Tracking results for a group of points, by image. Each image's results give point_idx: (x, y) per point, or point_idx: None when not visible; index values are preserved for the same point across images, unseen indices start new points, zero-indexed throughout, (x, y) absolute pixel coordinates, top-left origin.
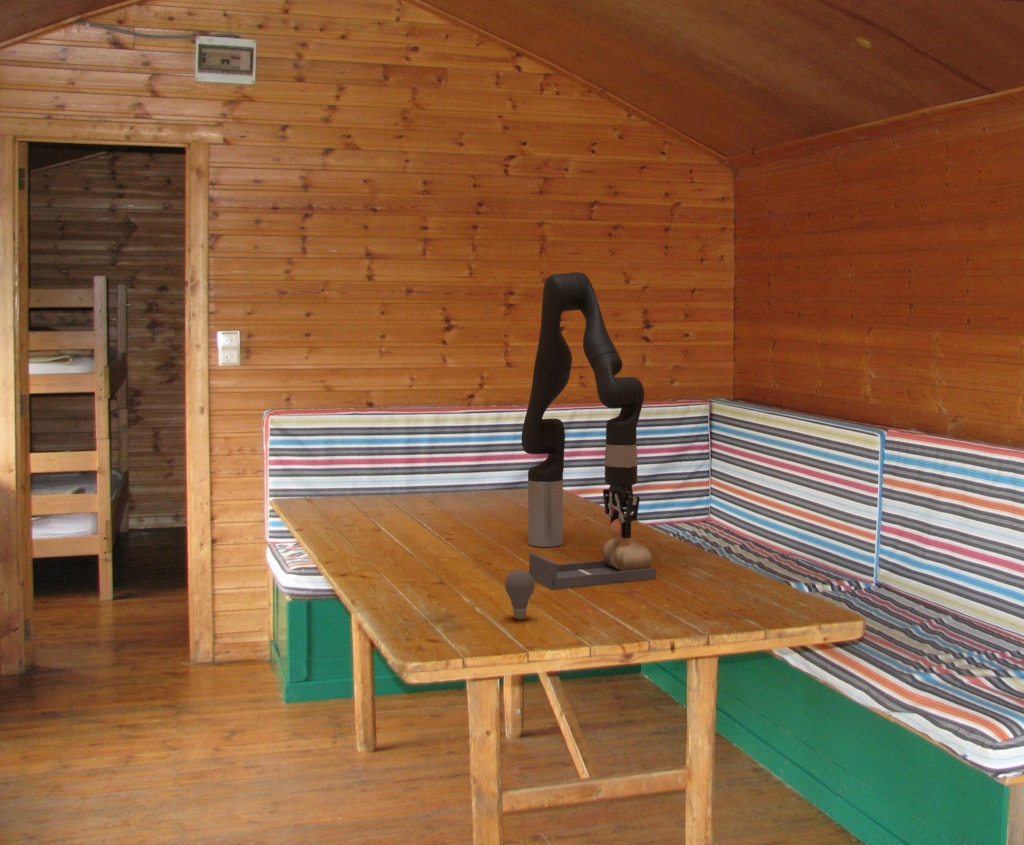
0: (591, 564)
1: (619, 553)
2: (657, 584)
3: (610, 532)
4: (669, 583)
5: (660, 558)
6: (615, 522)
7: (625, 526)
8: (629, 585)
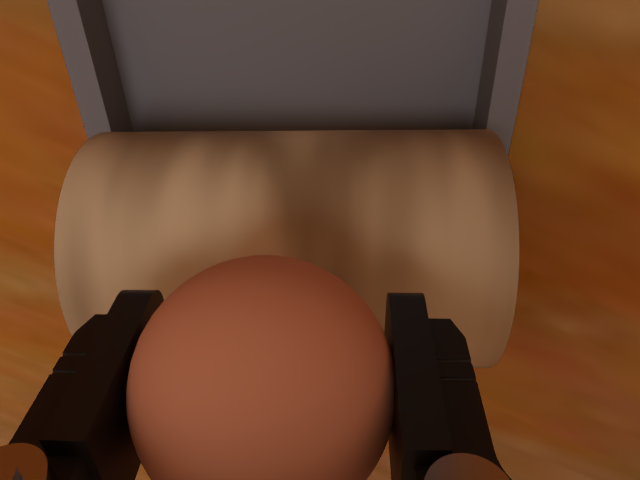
0: (499, 5)
1: (191, 177)
2: (23, 217)
3: (422, 296)
4: (40, 275)
5: (544, 447)
6: (195, 403)
7: (30, 414)
8: (9, 59)
